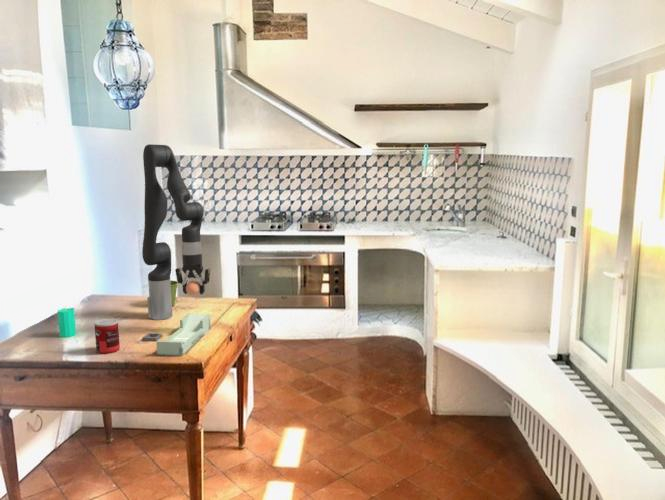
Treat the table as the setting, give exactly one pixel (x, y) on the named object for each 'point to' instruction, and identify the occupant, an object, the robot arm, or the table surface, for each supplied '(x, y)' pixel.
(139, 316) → the table surface
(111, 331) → the canned food
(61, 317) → the candle
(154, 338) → the grey picture frame
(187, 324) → the lane
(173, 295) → the plant pot
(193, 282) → the ball
